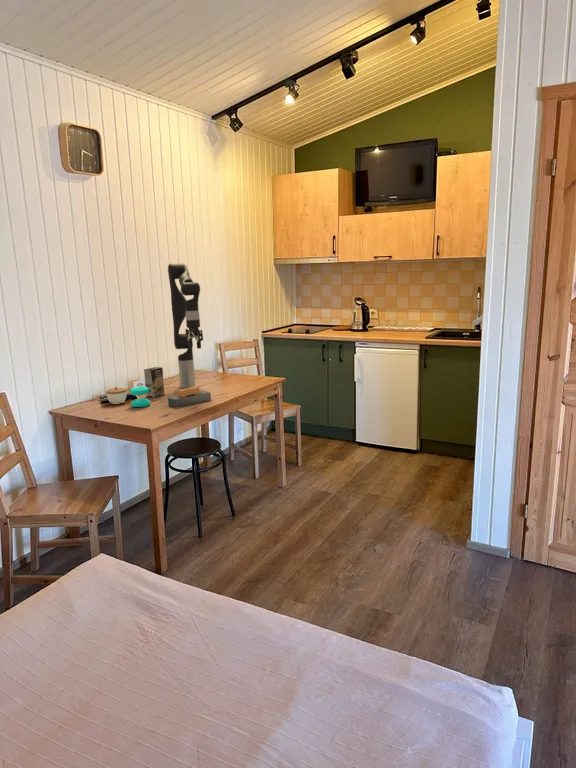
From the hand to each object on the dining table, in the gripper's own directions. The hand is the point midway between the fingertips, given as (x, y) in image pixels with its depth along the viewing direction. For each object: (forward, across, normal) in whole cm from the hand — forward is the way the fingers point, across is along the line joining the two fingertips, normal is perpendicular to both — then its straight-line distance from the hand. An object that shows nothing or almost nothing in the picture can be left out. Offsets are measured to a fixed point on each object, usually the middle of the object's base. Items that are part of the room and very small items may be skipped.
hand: (195, 347), depth 303 cm
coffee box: (+28, -23, -15) cm, 39 cm away
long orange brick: (+28, +10, -12) cm, 32 cm away
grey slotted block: (+28, +10, -12) cm, 32 cm away
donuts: (+28, -6, -33) cm, 44 cm away
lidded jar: (+28, -22, -39) cm, 53 cm away
